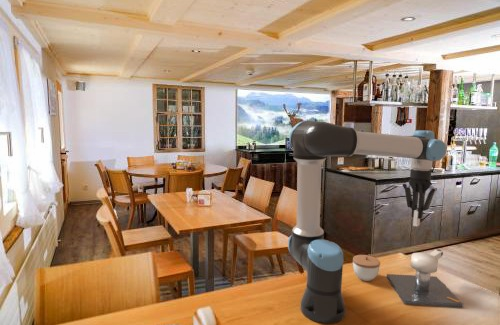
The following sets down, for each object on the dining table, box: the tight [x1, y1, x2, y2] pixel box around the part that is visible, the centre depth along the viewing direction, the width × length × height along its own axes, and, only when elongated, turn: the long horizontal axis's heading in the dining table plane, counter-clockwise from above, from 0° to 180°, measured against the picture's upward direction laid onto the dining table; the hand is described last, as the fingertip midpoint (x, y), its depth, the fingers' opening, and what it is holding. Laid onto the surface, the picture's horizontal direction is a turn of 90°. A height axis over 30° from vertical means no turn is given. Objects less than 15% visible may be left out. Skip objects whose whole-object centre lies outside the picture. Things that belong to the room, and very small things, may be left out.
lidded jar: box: [352, 254, 381, 282], centre depth 140 cm, size 11×11×9 cm
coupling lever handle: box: [410, 249, 444, 274], centre depth 132 cm, size 20×9×4 cm, turn 130°
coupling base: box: [386, 270, 464, 308], centre depth 129 cm, size 20×20×10 cm
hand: (416, 225), depth 139 cm, fingers closed
